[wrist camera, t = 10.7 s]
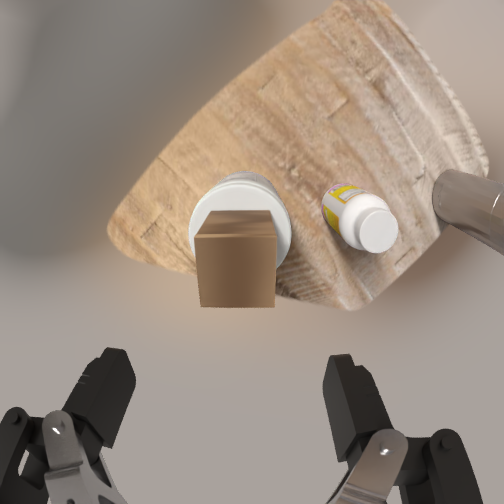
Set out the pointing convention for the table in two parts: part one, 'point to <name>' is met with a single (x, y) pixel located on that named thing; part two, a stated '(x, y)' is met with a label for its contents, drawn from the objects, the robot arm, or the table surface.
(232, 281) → the walnut block
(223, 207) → the supplement tub
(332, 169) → the table surface
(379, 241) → the supplement bottle
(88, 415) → the robot arm
